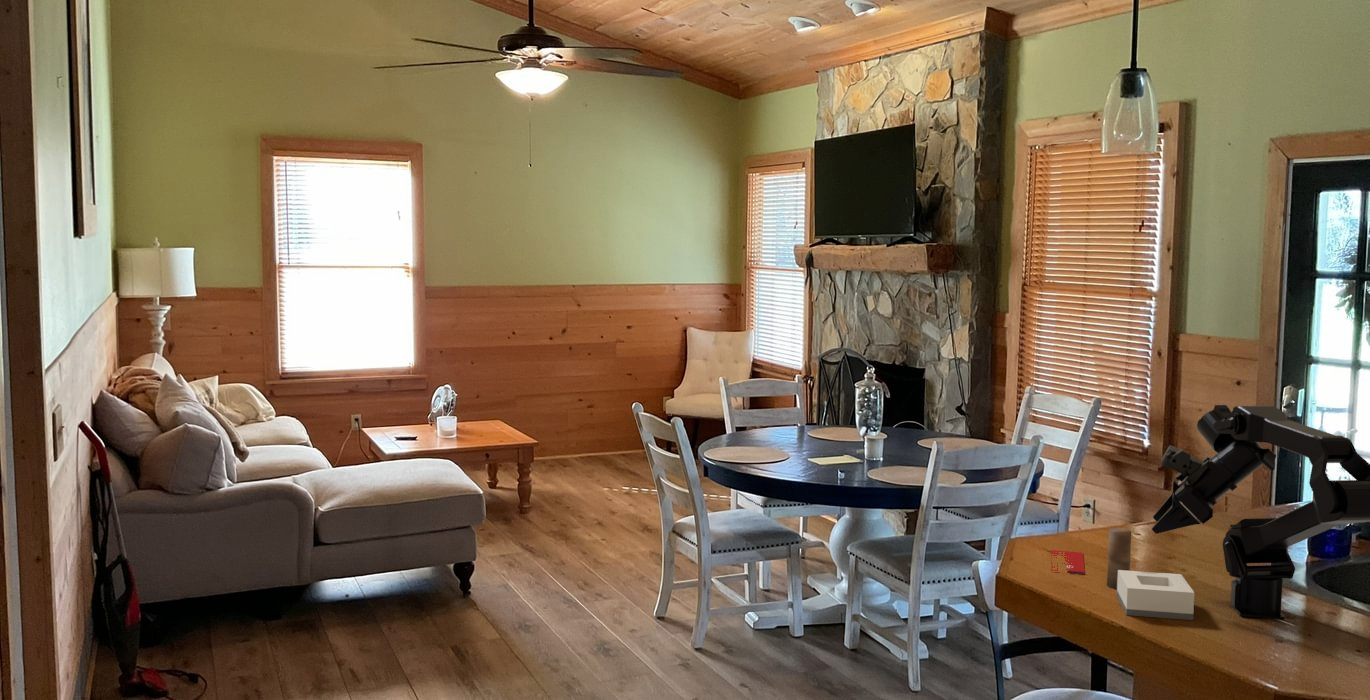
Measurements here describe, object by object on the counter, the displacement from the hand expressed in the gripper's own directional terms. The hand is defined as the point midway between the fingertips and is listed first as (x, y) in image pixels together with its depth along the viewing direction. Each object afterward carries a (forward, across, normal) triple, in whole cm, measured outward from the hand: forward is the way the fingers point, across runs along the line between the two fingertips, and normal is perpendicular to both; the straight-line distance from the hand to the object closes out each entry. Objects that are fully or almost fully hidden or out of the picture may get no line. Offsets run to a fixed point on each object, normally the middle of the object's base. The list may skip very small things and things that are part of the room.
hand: (1154, 525), depth 185 cm
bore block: (+8, +10, +8) cm, 15 cm away
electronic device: (+19, -11, -2) cm, 22 cm away
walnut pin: (+12, 0, +4) cm, 13 cm away
